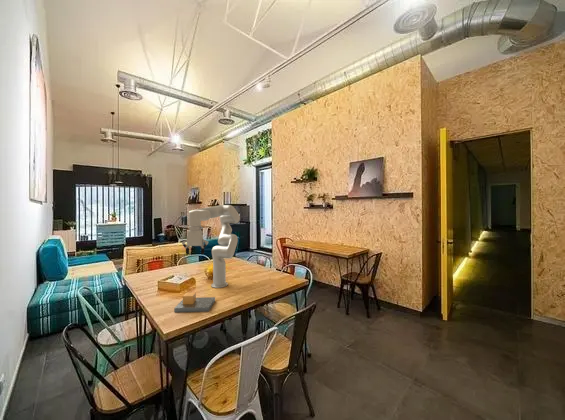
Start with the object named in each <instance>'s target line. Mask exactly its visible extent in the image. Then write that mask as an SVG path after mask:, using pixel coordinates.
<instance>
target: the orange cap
mask: <svg viewBox="0 0 565 420" xmlns="http://www.w3.org/2000/svg"><path fill="white" fill-rule="evenodd" d="M196 298H197V292H185V293H184V294H183V295H182V300H183V304H193V303H194V302H195V301H196Z"/></svg>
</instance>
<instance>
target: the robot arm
mask: <svg viewBox="0 0 565 420" xmlns="http://www.w3.org/2000/svg"><path fill="white" fill-rule="evenodd" d="M218 217H219V220H220V225H221V231H220V234H219V235H218V238H217V239H218V240H217V243H218V245H215V246H213V247H211V248H212V249H211V256H212V275H213V277H212V281H213V282H212V283H211V285H210V286H211V288H216V289H220V288H225V287H227V286H228V282H227V281H226V274H227V273H226V272H227V270H226V260H225V259H231V258H233V257H234V255H235V251H236V248H237V245H238V241H239V240H238V239H239V238H238V236H237V235H236V234H234V233H233V232H232V231H233V229H232V226H231V225H230V224H238V223H239V222H240V219H241V216H240V214H239V213H238V211H237V209H236V208H235V207H234V206H233V205H231V204H220V205H215V206H208V207H202V208H196V209H193V210H190V211H188V230H187V235H186V239H185V240H183V241H181V245H182V247H184V248H185V254H186V255H187V256H188V255H189V254H190V247H193V246H194V247H200V248H201V249H200V251H201V252H200V255H204V254H205V248H206V247H207V245H208V244H209V240H207V239H204V232H203V229H204V227H203V226H202V221H203V222H204V221H208V220H210V219H215V218H218Z"/></svg>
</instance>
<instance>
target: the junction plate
mask: <svg viewBox="0 0 565 420" xmlns="http://www.w3.org/2000/svg"><path fill="white" fill-rule="evenodd" d="M215 302H216V297H215V296H212V297H207V296H206V297H205V296H204V297H196V301H195V302H194V303H193V304H183V299H181V300H180V302H178V304H177V305H176V306H175V307H174V311H173V313H201V312H203V313H206V312H207V313H208V312H210V310H211V309H212V307H213V305H214V304H215Z"/></svg>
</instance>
